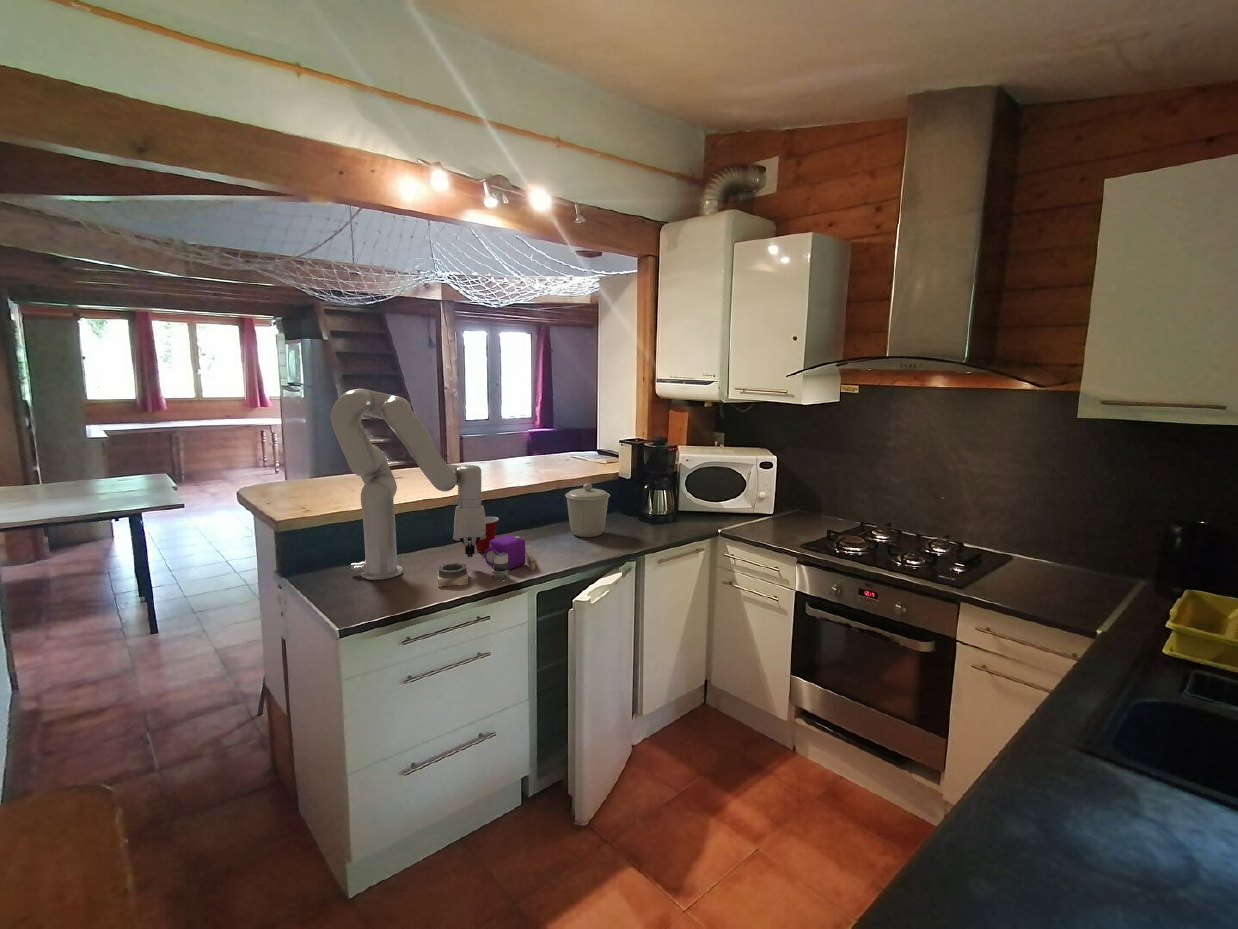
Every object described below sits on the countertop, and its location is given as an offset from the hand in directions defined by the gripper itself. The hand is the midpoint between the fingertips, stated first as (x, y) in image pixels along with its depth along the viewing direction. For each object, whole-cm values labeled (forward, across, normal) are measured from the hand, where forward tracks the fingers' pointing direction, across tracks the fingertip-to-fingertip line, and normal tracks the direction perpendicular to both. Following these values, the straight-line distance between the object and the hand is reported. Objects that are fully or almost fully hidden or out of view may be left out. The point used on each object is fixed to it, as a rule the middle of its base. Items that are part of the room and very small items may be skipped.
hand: (469, 556), depth 204 cm
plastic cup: (+4, +6, +19) cm, 21 cm away
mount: (+4, -6, -11) cm, 13 cm away
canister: (+4, +48, +31) cm, 58 cm away
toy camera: (+4, +11, -1) cm, 12 cm away
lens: (+4, +9, -13) cm, 16 cm away
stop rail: (+4, +20, 0) cm, 21 cm away
